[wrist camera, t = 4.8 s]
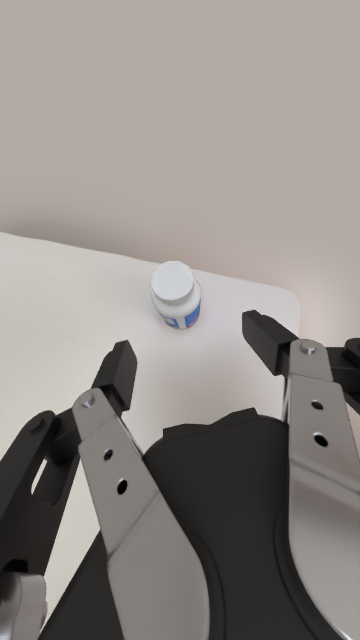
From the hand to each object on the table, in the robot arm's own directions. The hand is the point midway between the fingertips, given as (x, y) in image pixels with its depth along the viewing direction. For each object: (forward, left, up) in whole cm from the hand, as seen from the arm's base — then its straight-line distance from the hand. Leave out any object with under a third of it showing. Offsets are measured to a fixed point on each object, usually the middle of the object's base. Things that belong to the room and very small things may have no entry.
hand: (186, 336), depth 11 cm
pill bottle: (+1, -6, -12) cm, 13 cm away
